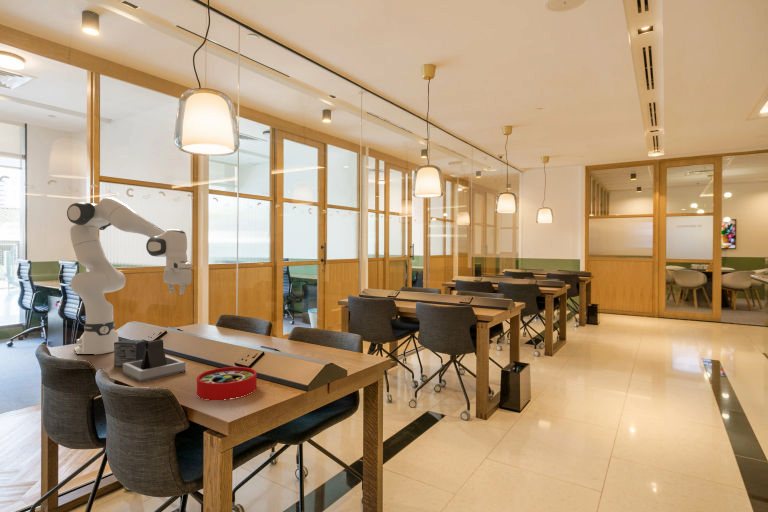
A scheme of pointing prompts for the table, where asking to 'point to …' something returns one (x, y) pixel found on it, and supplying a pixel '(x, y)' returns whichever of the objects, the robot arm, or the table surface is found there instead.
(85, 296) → the robot arm
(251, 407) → the table surface
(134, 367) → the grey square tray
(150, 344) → the door stopper
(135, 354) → the small box
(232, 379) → the toy clock
